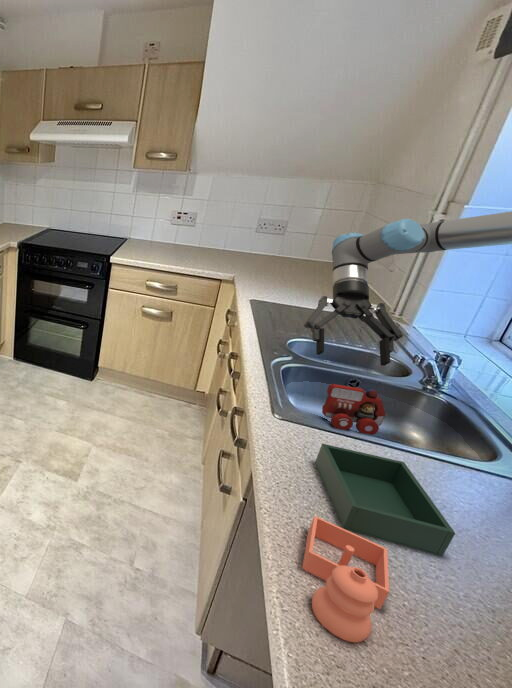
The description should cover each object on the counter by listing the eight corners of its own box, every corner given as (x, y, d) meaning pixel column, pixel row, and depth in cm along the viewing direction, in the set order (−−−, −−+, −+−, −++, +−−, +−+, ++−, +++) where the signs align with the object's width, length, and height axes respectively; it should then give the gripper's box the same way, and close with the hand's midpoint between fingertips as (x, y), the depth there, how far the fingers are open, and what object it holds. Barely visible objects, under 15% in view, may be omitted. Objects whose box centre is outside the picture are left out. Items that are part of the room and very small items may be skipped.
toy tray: (393, 484, 84) (404, 461, 82) (441, 558, 68) (455, 533, 66) (313, 465, 88) (322, 443, 86) (342, 530, 73) (352, 505, 71)
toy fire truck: (385, 439, 97) (401, 401, 93) (323, 428, 100) (336, 391, 97) (370, 422, 103) (385, 386, 99) (313, 411, 107) (325, 377, 103)
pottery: (307, 533, 72) (324, 490, 69) (378, 567, 67) (400, 522, 63) (293, 615, 59) (313, 567, 56) (379, 666, 54) (408, 616, 50)
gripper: (399, 298, 111) (405, 372, 104) (291, 285, 120) (289, 353, 112) (417, 285, 105) (424, 363, 97) (301, 273, 114) (300, 343, 106)
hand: (352, 358), depth 105 cm, fingers open, 13 cm apart
